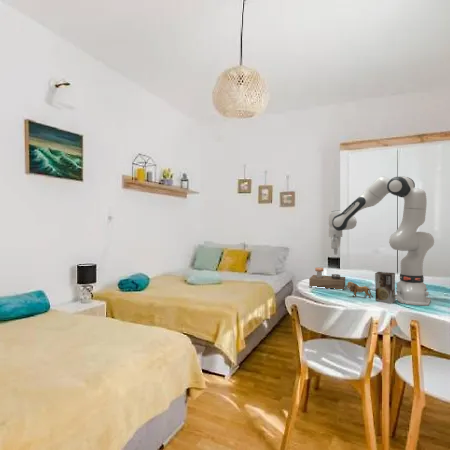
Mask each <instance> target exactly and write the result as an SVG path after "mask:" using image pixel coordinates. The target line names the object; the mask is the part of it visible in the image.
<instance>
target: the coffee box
mask: <svg viewBox="0 0 450 450" xmlns="http://www.w3.org/2000/svg"><path fill="white" fill-rule="evenodd" d="M374 278H375V279H374V283H375V285H374V286H375V289H374V290H375V300H376V301H375V302H380V303H388V304H393V303H395V302H396V299H395V295H396V273H395V272H386V271H377V272H375V273H374Z"/></svg>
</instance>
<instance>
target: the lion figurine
mask: <svg viewBox="0 0 450 450" xmlns="http://www.w3.org/2000/svg"><path fill="white" fill-rule="evenodd" d="M346 284H347V285H346V287H347V290H349V291H350V292H352V293H353V295H355V296H356V297H357V293H363V292H364V294H365V295H364V296H366V297H367V298H370V299H371V298H374V295H372V293H371V289H370V288H369V287H368V286H365V285H364V286H359V285H358V284H356V283H355V282H352V281H348V282H347V283H346Z"/></svg>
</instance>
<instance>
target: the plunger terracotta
mask: <svg viewBox="0 0 450 450" xmlns="http://www.w3.org/2000/svg"><path fill="white" fill-rule="evenodd" d="M314 270H315V272H316V275H317V278H322V275H323V272H324V270H325V269H324V267H318V266H317V267H314Z"/></svg>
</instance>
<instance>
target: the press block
mask: <svg viewBox="0 0 450 450" xmlns="http://www.w3.org/2000/svg"><path fill="white" fill-rule="evenodd" d="M308 281H309V283H308V284H309V285H308V286H317V287H325V288H335V289H344V290H345V288H344V287H346V276H340V278H338V279H333V278H332V275H324V274H322V278H317V274H313V275H312V276H311V277H310V278H309V280H308ZM335 289H334V290H335Z"/></svg>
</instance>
